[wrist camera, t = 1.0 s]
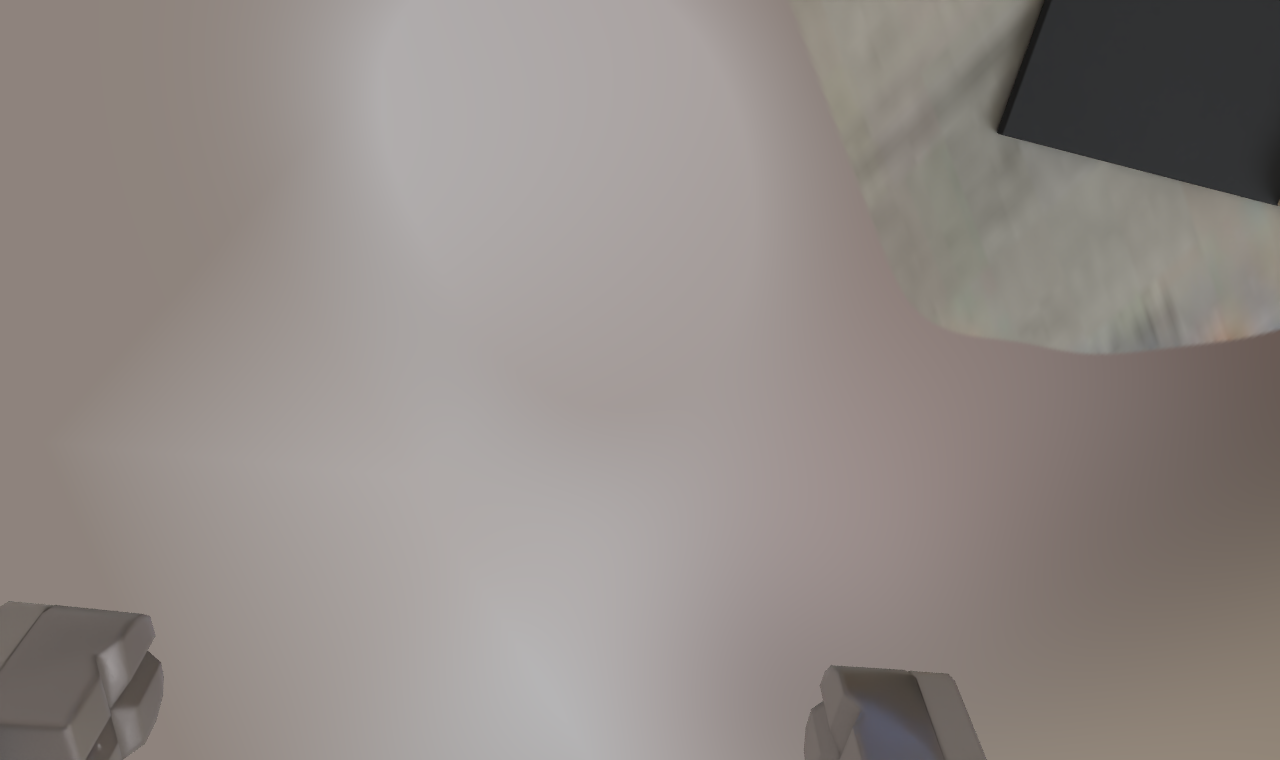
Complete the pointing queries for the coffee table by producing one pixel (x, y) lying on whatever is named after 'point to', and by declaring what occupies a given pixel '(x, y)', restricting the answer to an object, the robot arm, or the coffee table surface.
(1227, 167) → the mat
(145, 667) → the robot arm
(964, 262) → the coffee table surface
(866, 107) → the coffee table surface
